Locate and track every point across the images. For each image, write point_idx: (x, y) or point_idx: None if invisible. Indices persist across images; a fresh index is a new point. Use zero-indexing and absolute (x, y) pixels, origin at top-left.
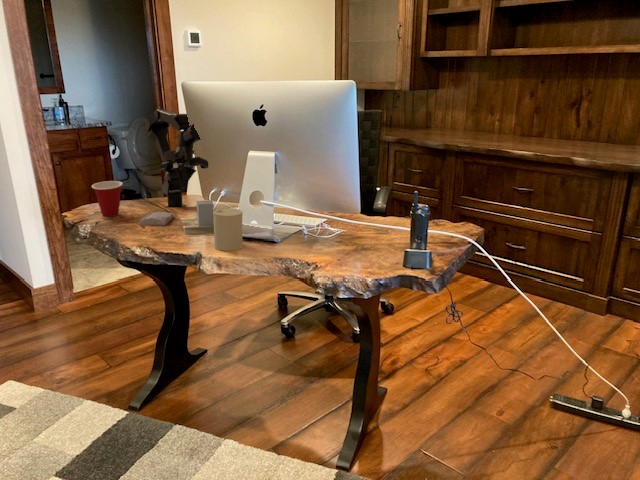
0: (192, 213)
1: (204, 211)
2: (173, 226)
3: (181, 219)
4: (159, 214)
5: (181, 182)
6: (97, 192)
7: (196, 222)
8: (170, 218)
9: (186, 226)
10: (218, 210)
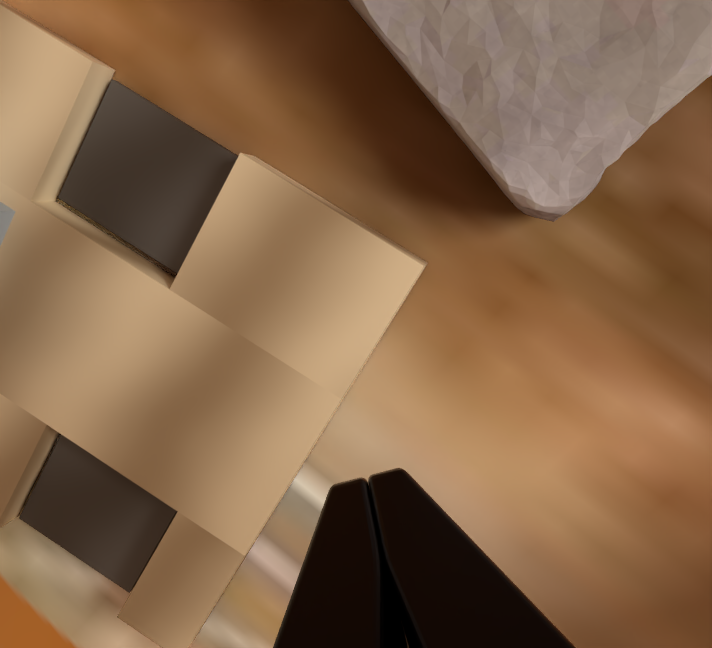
0: (633, 599)
1: None
2: (290, 56)
3: (356, 233)
4: None
5: (395, 591)
6: None
7: (129, 286)
8: (439, 109)
9: (57, 88)
10: None
